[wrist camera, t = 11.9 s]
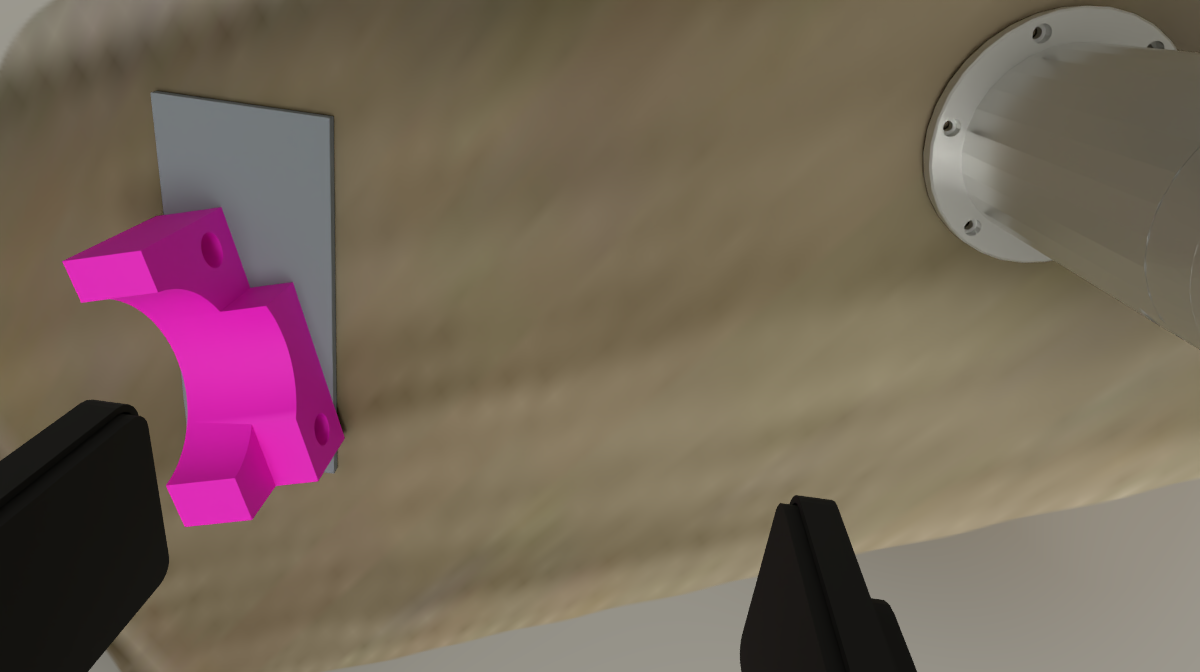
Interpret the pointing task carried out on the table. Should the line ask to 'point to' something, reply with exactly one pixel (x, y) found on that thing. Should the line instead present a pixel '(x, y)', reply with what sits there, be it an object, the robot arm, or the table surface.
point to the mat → (260, 196)
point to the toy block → (222, 361)
